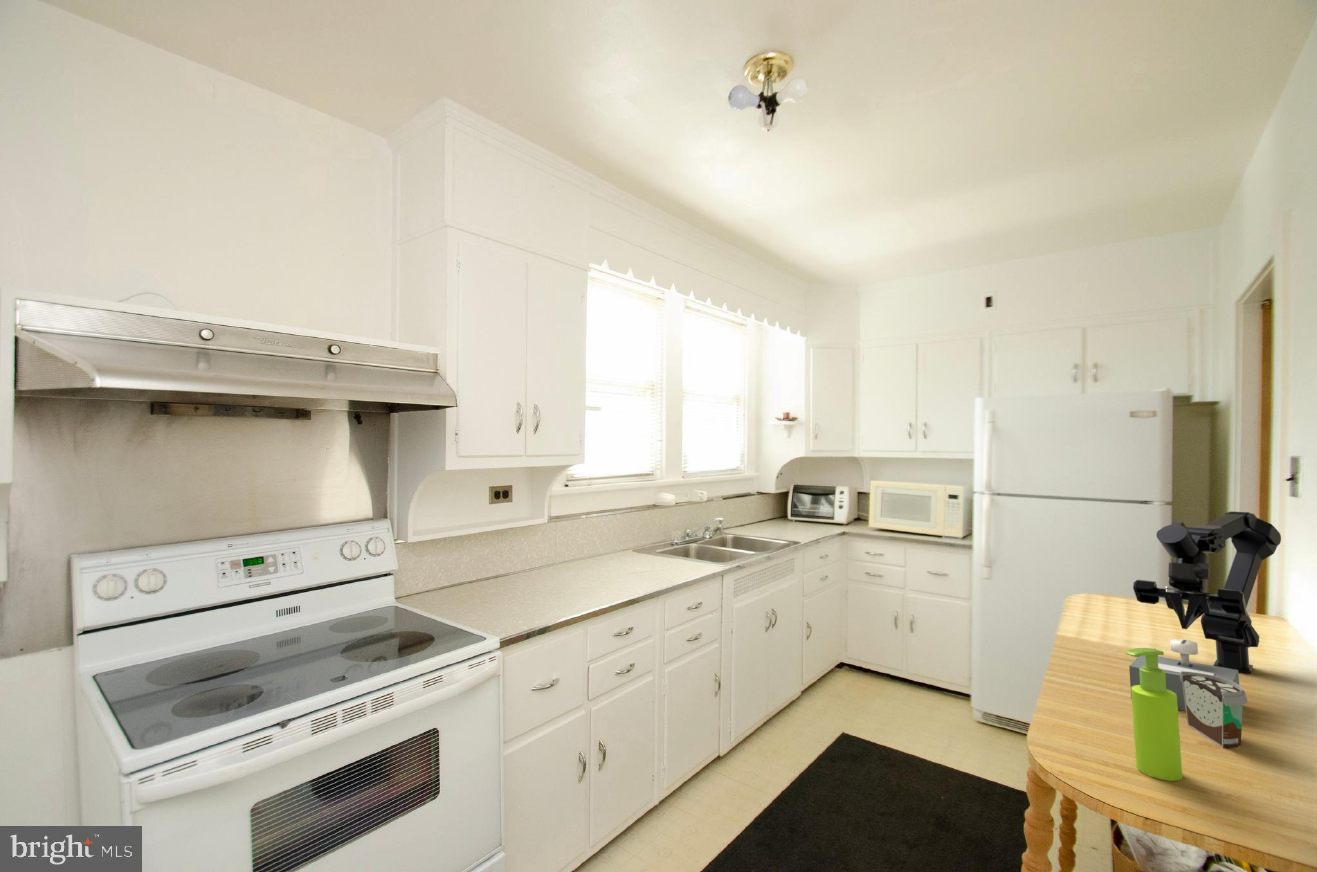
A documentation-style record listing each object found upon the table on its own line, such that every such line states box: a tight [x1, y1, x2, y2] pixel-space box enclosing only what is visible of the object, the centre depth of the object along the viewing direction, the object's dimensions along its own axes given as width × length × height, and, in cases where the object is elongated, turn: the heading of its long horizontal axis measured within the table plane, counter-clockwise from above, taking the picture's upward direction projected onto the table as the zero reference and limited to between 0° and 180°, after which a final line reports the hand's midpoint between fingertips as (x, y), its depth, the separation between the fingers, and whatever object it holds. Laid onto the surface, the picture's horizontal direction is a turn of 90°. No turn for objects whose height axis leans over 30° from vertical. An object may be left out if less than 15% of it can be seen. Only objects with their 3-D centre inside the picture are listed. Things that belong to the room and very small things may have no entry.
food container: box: [1180, 671, 1249, 749], centre depth 110 cm, size 12×6×10 cm, turn 168°
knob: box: [1169, 638, 1199, 667], centre depth 129 cm, size 4×4×6 cm
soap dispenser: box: [1124, 647, 1183, 782], centre depth 99 cm, size 6×7×20 cm
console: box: [1128, 655, 1240, 712], centre depth 126 cm, size 12×16×7 cm
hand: (1184, 627), depth 131 cm, fingers closed
